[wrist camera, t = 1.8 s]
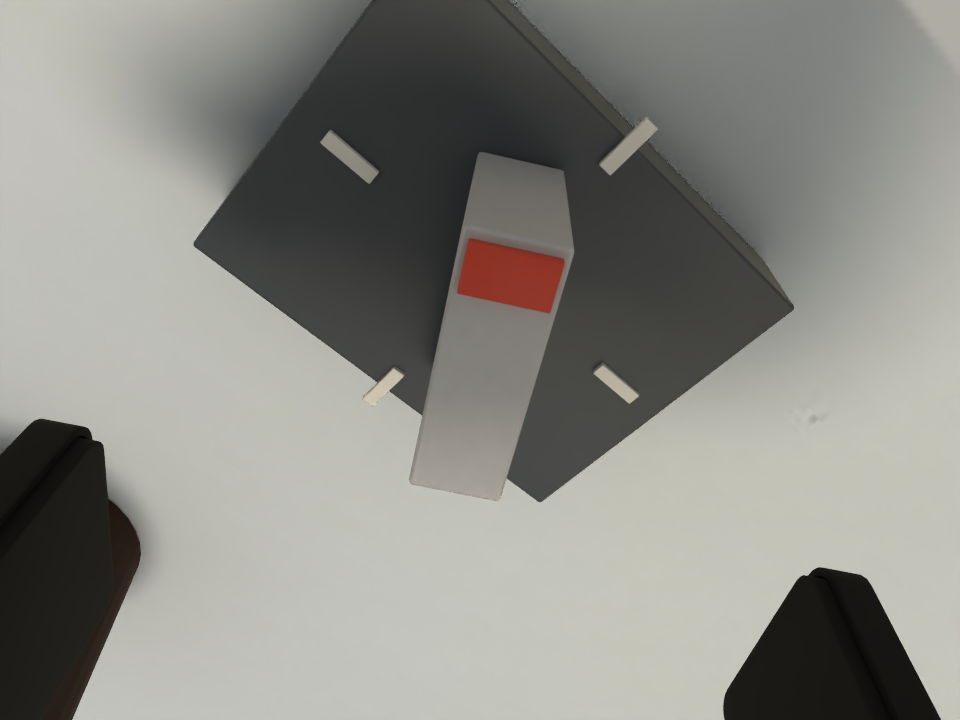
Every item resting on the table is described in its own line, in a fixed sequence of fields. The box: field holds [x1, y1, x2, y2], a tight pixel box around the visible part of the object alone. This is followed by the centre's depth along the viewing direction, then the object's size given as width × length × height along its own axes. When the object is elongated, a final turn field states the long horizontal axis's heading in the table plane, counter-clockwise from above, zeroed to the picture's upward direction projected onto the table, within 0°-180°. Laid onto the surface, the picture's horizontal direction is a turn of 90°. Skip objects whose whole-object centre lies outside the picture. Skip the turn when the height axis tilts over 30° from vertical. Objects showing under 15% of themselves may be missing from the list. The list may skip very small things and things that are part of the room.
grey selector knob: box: [409, 152, 574, 501], centre depth 16 cm, size 6×2×5 cm, turn 168°
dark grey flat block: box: [194, 0, 794, 502], centre depth 19 cm, size 12×10×3 cm
